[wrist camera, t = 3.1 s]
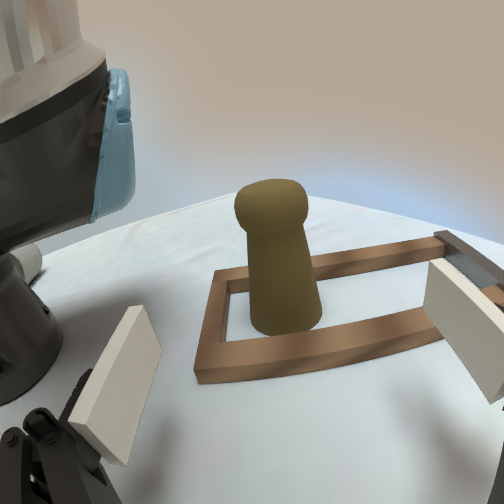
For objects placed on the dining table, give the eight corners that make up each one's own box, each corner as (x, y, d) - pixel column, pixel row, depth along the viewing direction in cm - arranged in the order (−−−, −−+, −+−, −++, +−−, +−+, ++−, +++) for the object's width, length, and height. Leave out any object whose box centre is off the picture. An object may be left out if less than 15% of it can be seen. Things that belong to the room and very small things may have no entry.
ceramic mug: (50, 268, 45) (35, 231, 42) (32, 289, 38) (15, 246, 35) (13, 280, 44) (-1, 246, 41) (-5, 300, 36) (-22, 262, 33)
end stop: (506, 313, 17) (513, 293, 16) (432, 248, 30) (433, 232, 29) (519, 307, 17) (525, 288, 16) (445, 245, 29) (446, 230, 29)
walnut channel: (199, 384, 18) (193, 369, 18) (217, 283, 31) (214, 270, 30) (506, 313, 17) (511, 298, 16) (432, 248, 30) (433, 236, 29)
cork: (302, 287, 28) (289, 170, 23) (335, 320, 22) (328, 179, 18) (242, 306, 26) (216, 185, 22) (264, 346, 21) (236, 198, 16)
